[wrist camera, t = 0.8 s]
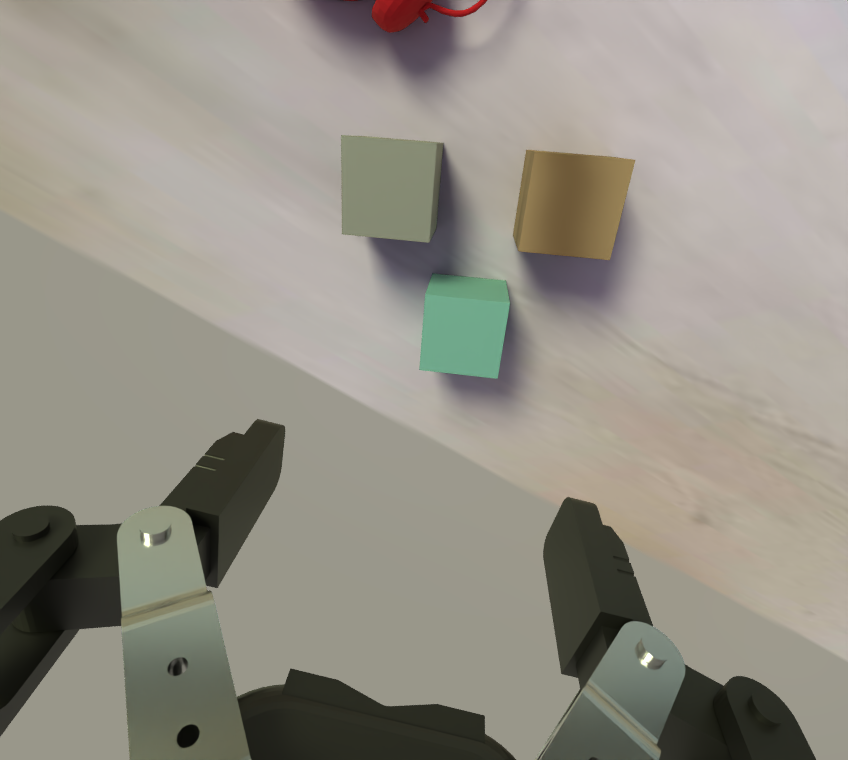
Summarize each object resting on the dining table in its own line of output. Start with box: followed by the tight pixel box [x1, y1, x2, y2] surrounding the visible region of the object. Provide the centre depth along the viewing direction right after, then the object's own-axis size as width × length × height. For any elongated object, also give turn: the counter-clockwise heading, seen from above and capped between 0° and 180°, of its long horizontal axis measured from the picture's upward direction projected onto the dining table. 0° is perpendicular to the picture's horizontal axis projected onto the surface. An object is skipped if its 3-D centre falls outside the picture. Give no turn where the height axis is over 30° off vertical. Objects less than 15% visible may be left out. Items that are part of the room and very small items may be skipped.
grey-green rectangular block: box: [341, 135, 443, 243], centre depth 28 cm, size 5×5×5 cm
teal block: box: [419, 273, 510, 379], centre depth 31 cm, size 5×5×5 cm
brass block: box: [513, 150, 635, 260], centre depth 27 cm, size 5×5×5 cm
